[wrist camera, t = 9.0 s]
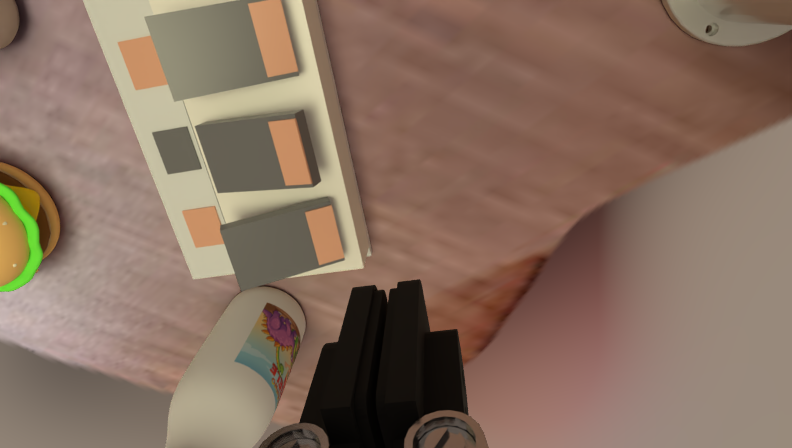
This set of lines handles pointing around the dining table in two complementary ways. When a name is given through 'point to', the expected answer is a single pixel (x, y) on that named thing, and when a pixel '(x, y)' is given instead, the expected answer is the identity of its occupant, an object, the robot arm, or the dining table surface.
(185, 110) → the switch board
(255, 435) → the milk bottle
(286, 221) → the switch
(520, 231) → the dining table surface
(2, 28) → the plastic bottle
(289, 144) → the switch middle
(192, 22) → the switch
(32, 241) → the hamburger
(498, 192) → the dining table surface
